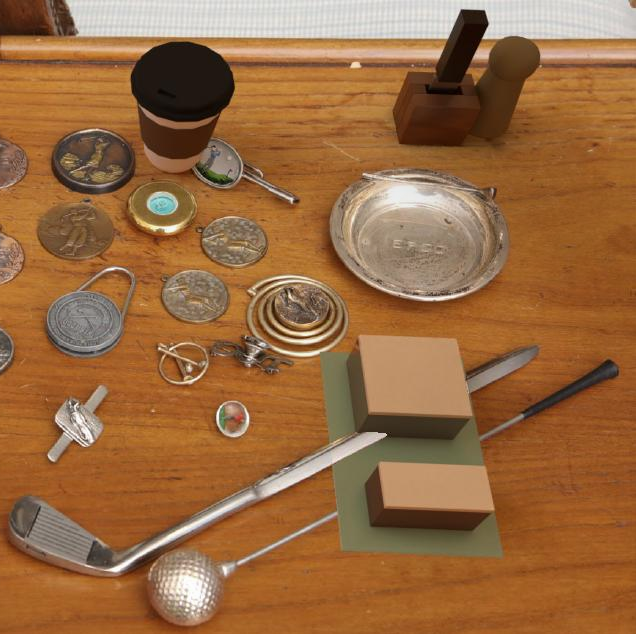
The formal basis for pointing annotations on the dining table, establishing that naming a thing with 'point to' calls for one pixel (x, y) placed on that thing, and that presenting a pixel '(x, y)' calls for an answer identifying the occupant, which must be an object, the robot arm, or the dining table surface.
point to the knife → (458, 51)
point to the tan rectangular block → (428, 496)
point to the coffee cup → (180, 101)
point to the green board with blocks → (402, 435)
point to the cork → (503, 84)
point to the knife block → (434, 111)
